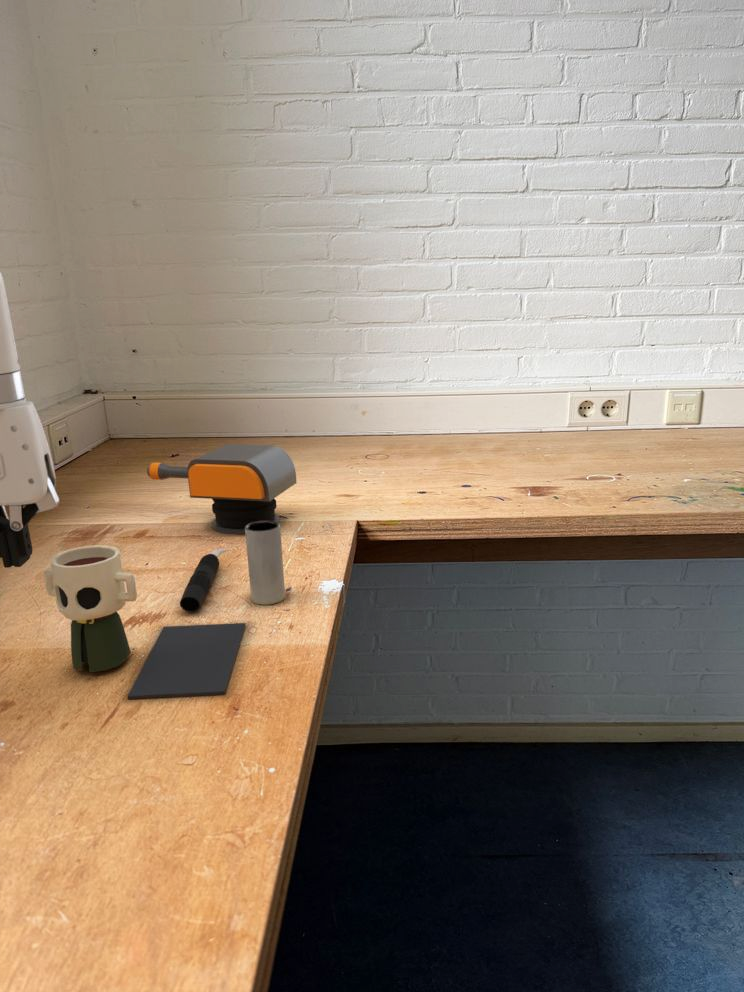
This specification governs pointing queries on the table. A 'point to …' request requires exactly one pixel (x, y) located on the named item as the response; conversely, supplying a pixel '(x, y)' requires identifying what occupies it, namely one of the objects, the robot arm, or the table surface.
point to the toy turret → (236, 482)
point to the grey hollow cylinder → (265, 562)
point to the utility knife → (201, 581)
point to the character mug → (92, 603)
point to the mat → (189, 661)
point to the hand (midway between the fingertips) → (17, 562)
